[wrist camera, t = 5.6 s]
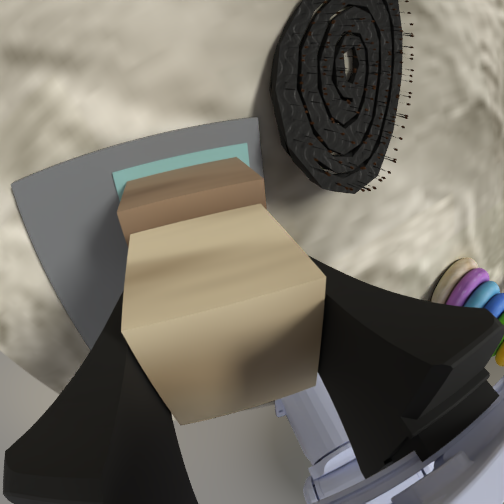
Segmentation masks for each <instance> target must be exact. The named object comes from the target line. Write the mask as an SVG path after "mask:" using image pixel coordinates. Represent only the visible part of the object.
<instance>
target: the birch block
mask: <svg viewBox="0 0 504 504" xmlns="http://www.w3.org/2000/svg"><path fill="white" fill-rule="evenodd" d="M325 287H326V276H325V275H324V274H323V272H322V271H321V270H320V269H319V268H318V267H317V266H316V264H315V263H314V262H313V261H312V260H311V259H310V258H309V256H308V255H307V254H306V253H305V252H304V251H303V250H302V249H301V247H300V246H299V245H298V244H297V243H296V242H295V241H294V240H293V238H292V237H291V236H290V235H289V234H288V233H287V232H286V231H285V230H284V228H283V227H282V226H281V225H280V224H279V223H278V222H277V221H276V220H275V219H274V217H273V216H272V215H271V214H270V213H269V212H268V211H267V210H266V209H265V208H264V207H263V206H262V204H256V205H251V206H247V207H242V208H237V209H233V210H228V211H224V212H219V213H215V214H211V215H206V216H202V217H198V218H194V219H189V220H185V221H181V222H177V223H173V224H169V225H165V226H161V227H157V228H153V229H149V230H145V231H141V232H137V233H134V234H130V241H129V248H128V256H127V264H126V273H125V283H124V294H123V307H122V323H121V332H122V334H123V336H124V337H125V339H126V341H127V343H128V345H129V346H130V348H131V350H132V352H133V353H134V355H135V357H136V359H137V360H138V362H139V364H140V365H141V367H142V369H143V370H144V372H145V373H146V375H147V377H148V378H149V380H150V381H151V383H152V385H153V386H154V388H155V389H156V391H157V392H158V394H159V395H160V397H161V398H162V400H163V401H164V403H165V404H166V406H167V407H168V408H169V410H170V411H171V413H172V414H173V416H174V417H175V418H176V420H177V421H178V423H179V424H180V425H185V424H190V423H195V422H199V421H204V420H208V419H212V418H216V417H220V416H224V415H228V414H231V413H235V412H239V411H242V410H246V409H249V408H252V407H256V406H259V405H262V404H265V403H269V402H272V401H275V400H278V399H281V398H284V397H286V396H289V395H292V394H295V393H298V392H300V391H303V390H306V389H308V388H311V387H314V386H316V380H317V372H318V364H319V355H320V346H321V336H322V326H323V314H324V302H325Z"/></svg>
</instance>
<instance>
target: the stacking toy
mask: <svg viewBox="0 0 504 504" xmlns="http://www.w3.org/2000/svg"><path fill="white" fill-rule="evenodd" d="M431 302H434V303H440V304H447V305H453V306H463V307H476V308H486V309H487V310H489V311H490V312H491V313H492V314H493V315H494V316H495V317H496V318H497V319H498V320H499V321H500V322H501V323H502V324H503V325H504V293H500V289H499V286H498V285H497V284H496V283H495V282H493V281H489V275H488V273H487V272H486V271H485V270H484V269H482V268H478V265H477V263H476V262H475V261H474V260H473V259H471V258H463V259H460V260H458V261H457V262H455V263H454V264H453V265H452V266H451V267H450V268H449V269H448V270H447V271H446V272H445V274H444V275H443V276H442V278H441V279H440V281H439V283H438V284H437V286H436V288H435V290H434V293H433V295H432V299H431ZM495 355H496V357H495V360H496V362H497V364H498V365H499V366H504V336H503V338H502V340H501V342H500V344H499V346H498V347H497V349H496V350H495V352H494V354H493V355H492V356H495Z"/></svg>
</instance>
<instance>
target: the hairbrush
mask: <svg viewBox="0 0 504 504" xmlns="http://www.w3.org/2000/svg"><path fill="white" fill-rule="evenodd" d="M405 2H409V1H405ZM322 3H325V4H324V5H323V6H322V7H321V8H320V9H319V10H318V11H317V13H316V14H315V16H314V17H313V19H312V20H311V22H310V23H309V21H310V19H311V17H312V15H313V12H314V11H315V10H316V9H317V8H318V7H319V6H320V5H321V4H322ZM345 6H354V7H351V8H349V9H346V10H344V11H341V12H338V11H339V10H341V9H342V8H343V7H345ZM358 7H359V8H358ZM314 13H315V12H314ZM401 13H405V12H401ZM334 14H337V15H336V16H335V17H334V18H333V19H332V20H331V21H329V20H330V17H331V16H333V15H334ZM408 14H411V13H410V12H408ZM328 22H330V23H329V25H328ZM308 23H309V25H308ZM402 24H403V23H402ZM327 25H328V27H327ZM410 25H413V24H412V23H411V24H410ZM307 26H308V28H307ZM306 28H307V30H306ZM326 28H327V29H326ZM305 30H306V32H305ZM325 30H326V31H325ZM304 32H305V34H304ZM346 32H352V33H353V34H354V35H355V36H352V35H349V34H345V35H342V34H343V33H346ZM402 32H403V30H402V27H401V19H400V12H399V4H398V0H328V1H327V2H326V1H325V0H303V1H302V2H301V4H300V5H299V6H298V7H297V9H296V10H295V12H294V13H293V14H292V16H291V17H290V18H289V20H288V22H287V24H286V26H285V27H284V30H283V32H282V35H281V37H280V40H279V43H278V44H277V48H276V52H275V54H274V59H273V66H272V74H271V82H270V94H271V98H272V102H273V107H274V111H275V116H276V120H277V125H278V130H279V134H280V139H281V144H282V146H283V148H284V149H285V150H286V152H287V153H288V155H289V156H290V157H291V158H292V160H293V162H294V163H295V164H296V165H297V166H298V167H299V168H300V169H301V170H302V171H303V172H304V173H305V175H306V176H307V177H308V178H309V180H310V181H312V182H313V183H315V184H317V185H318V186H320V187H321V188H323V189H327V190H331V191H335V192H344V193H352V194H355V193H356V192H358V191H359V190H360V189H361V190H362V191H363V192H364V191H365V190H364V189H362V188H365V187H364V186H365V185H367V184H368V183H369V182H370V181H372V180H373V179H374V178H376V177H377V176H378V174H379V171H380V168H381V165H382V163H383V160H384V157H387V156H385V154H386V151H387V148H388V145H389V142H390V139H391V136H392V133H393V129H394V125H395V124H394V123H395V118H396V112H397V106H398V99H399V96H400V95H399V92H400V86H401V77H402V63H403V62H402V54H403V52H402ZM405 34H410V33H405ZM411 34H412V35H406V36H410V37H414V35H413V33H411ZM303 35H304V36H303ZM340 36H342V37H341V38H340ZM302 37H303V38H302ZM339 38H340V40H339V42H338V43H337V45H336V47H335V44H336V42H337V41H338V39H339ZM301 39H302V40H301ZM300 42H301V44H300ZM299 44H300V47H299ZM403 47H408V46H403ZM409 48H414V47H409ZM318 49H319V51H318ZM349 49H352V52H353V56H349V57H353V71H352V72H353V73H351V74H352V75H351V77H350V79H349V81H348V82H346V74H345V71H346V70H345V69H347V68H345V64H344V55H343V54H344V53H346V52H347V51H348V50H349ZM317 52H318V54H317ZM411 56H414V55H413V54H411ZM403 58H404V57H403ZM409 59H411V60H413V58H409ZM407 70H409V69H407ZM411 71H414V70H413V69H411ZM403 75H404V74H403ZM408 76H409V75H408ZM410 77H412V75H410ZM405 81H406V80H405ZM409 82H411V83H412V82H413V81H409ZM407 93H409V94H412V93H411V92H407ZM403 96H404V95H403ZM407 97H409V98H411V96H407ZM343 99H345V100H343ZM400 103H401V102H400ZM406 104H407V105H411V104H409V103H406ZM397 114H398V113H397ZM400 115H402V114H400ZM397 116H399V115H397ZM404 116H405V117H403V116H400V117H403V118H405V119H407V117H408V115H404ZM337 123H339V124H344V125H338V124H337ZM397 126H398V125H397ZM402 128H405V127H404V126H402ZM393 137H394V136H393ZM399 139H400V140H402V138H401V137H399ZM325 147H326V148H327V149H328V150H327V149H326V148H325ZM394 150H396V151H397V149H396V148H395V149H394ZM332 152H336V153H339V154H341V155H340V156H335V155H331V154H330V153H332ZM388 158H389V157H388ZM385 159H387V158H385ZM391 159H392V158H391ZM393 159H394V158H393ZM388 160H390V159H388ZM395 160H396V159H394V160H390V161H393V162H394V163H396V161H395ZM318 164H319V165H320V166H321V167H322V168H324V169H328V170H331V171H333V172H335V173H338V174H331V173H328V171H324V170H322V169H321V168H320V166H319V165H318ZM381 170H383V169H381ZM384 171H385V170H384ZM341 172H344V173H341ZM387 172H388V173H390V174H391V172H390V171H387ZM381 178H383V179H386V178H385V177H381ZM376 179H377V178H376ZM378 180H379V181H380V182H382V180H381V179H378ZM368 186H369V185H368ZM372 187H373V189H376V187H374V186H372ZM365 189H367V190H368V191H371V190H370V189H369V188H365Z"/></svg>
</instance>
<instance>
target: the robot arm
mask: <svg viewBox="0 0 504 504" xmlns="http://www.w3.org/2000/svg"><path fill="white" fill-rule="evenodd" d="M309 258H310V259H311V260H312V261H313V262H314V263H315V264H316V266H317V267H318V268H319V269H320V270H321V271H322V272H323V274H324V275H325V276H326V287H325V302H324V314H323V326H322V336H321V346H320V355H319V364H318V372H317V380H316V386H314V387H311V388H308V389H306V390H303V391H300V392H298V393H295V394H292V395H289V396H286V397H284V398H281V399H278V400H275V411H276V416H277V417H282V416H285V415H286V416H287V418H288V420H289V422H290V424H291V427H292V428H293V431H294V433H295V435H296V437H297V439H298V441H299V444H300V446H301V448H302V450H303V452H304V454H305V455H306V457H307V458H308V459H309V460H310V462H311V464H312V466H311V467H309V468H308V470H309V472H310V474H311V476H309V477H307V478H306V481H305V485H304V488H303V492H304V496H305V500H306V503H307V504H502V503H503V502H504V376H503V377H502V378H501V379H500V380H499V381H498V382H497V383H496V384H495V385H494V386H493V387H492V386H491V385H490V384H489V383H488V381H487V379H488V378H489V376H490V375H489V372H488V371H487V370H486V369H485V368H484V367H485V366H486V364H487V363H488V361H489V360H490V358H491V357H492V355H493V354H494V352H495V350H496V349H497V347H498V346H499V344H500V342H501V340H502V338H503V336H504V325H503V324H502V323H501V322H500V321H499V320H498V319H497V318H496V317H495V316H494V315H493V314H492V313H491V312H490V311H489V310H487V309H486V308H476V307H463V306H453V305H447V304H440V303H434V302H429V301H424V300H420V299H416V298H412V297H408V296H404V295H400V294H397V293H394V292H390V291H387V290H384V289H382V288H379V287H376V286H373V285H370V284H368V283H365V282H363V281H360V280H358V279H356V278H353V277H351V276H349V275H346V274H344V273H342V272H340V271H338V270H336V269H334V268H332V267H330V266H328V265H326V264H324V263H322V262H320V261H318V260H316V259H314V258H312V257H310V256H309ZM123 294H124V290H123V292H122V294H121V296H120V298H119V300H118V302H117V303H116V305H115V307H114V309H113V311H112V313H111V315H110V317H109V319H108V321H107V323H106V324H105V326H104V328H103V330H102V332H101V334H100V335H99V337H98V339H97V341H96V342H95V344H94V346H93V348H92V349H91V351H90V353H89V354H88V356H87V358H86V359H85V361H84V362H83V364H82V365H81V367H80V368H79V370H78V371H77V372H76V374H75V375H74V377H73V378H72V380H71V381H70V382H69V383H68V385H67V386H66V387H65V389H64V390H63V391H62V392H61V394H60V395H59V396H58V398H57V399H56V400H55V401H54V403H53V404H52V405H51V406H50V407H49V408H48V410H47V411H46V412H45V413H44V414H43V415H42V416H41V417H40V418H39V420H38V421H37V422H36V423H35V424H34V425H33V426H32V427H31V428H30V429H29V430H28V431H27V432H26V433H25V434H24V435H23V436H21V438H19V439H18V440H17V441H16V442H15V443H14V444H13V445H12V446H11V447H10V448H9V449H7V450H6V451H5V460H4V476H3V478H4V479H3V494H4V496H5V497H6V498H7V499H8V500H9V501H10V502H12V503H14V504H198V502H197V500H196V497H195V494H194V492H193V489H192V486H191V483H190V480H189V477H188V474H187V472H186V469H185V465H184V462H183V458H182V455H181V452H180V448H179V444H178V440H177V436H176V433H175V428H174V424H173V420H172V414H171V411H170V410H169V408H168V407H167V406H166V404H165V403H164V401H163V400H162V398H161V397H160V395H159V394H158V392H157V391H156V389H155V388H154V386H153V385H152V383H151V381H150V380H149V378H148V377H147V375H146V373H145V372H144V370H143V369H142V367H141V365H140V364H139V362H138V360H137V359H136V357H135V355H134V353H133V352H132V350H131V348H130V346H129V345H128V343H127V341H126V339H125V337H124V336H123V334H122V332H121V323H122V307H123ZM434 461H435V463H434Z"/></svg>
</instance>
